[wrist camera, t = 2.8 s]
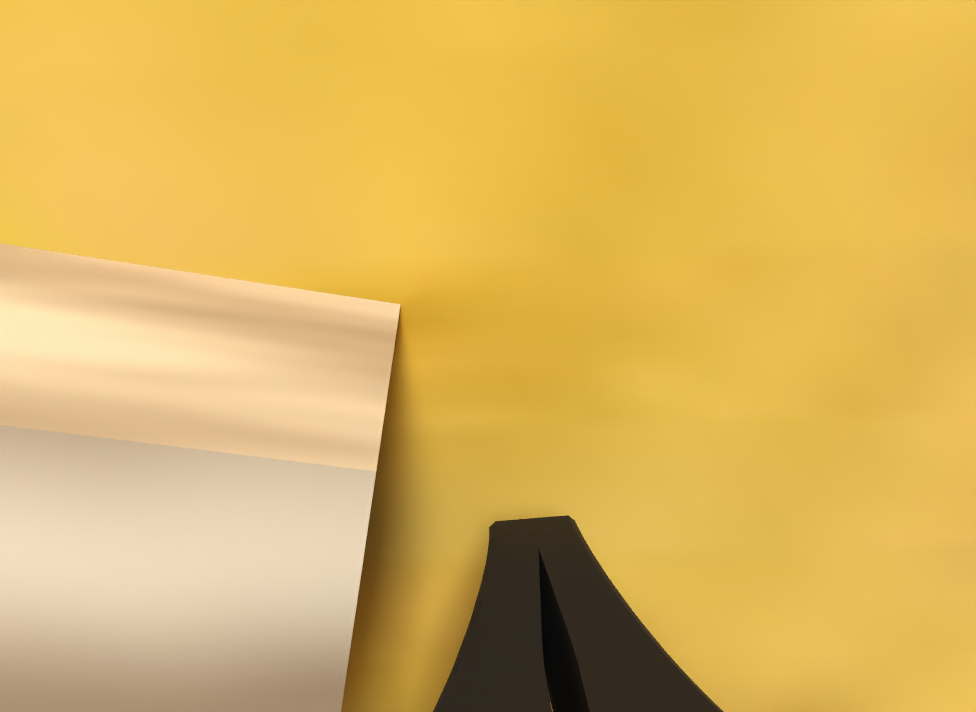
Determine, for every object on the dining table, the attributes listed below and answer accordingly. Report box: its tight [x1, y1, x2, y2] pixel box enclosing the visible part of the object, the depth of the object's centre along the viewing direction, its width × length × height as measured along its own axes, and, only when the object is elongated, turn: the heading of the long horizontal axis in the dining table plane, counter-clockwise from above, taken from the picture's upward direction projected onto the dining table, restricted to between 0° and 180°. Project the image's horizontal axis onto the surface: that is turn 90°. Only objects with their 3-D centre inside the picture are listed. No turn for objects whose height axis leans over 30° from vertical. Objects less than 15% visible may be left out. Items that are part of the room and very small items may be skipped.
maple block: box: [0, 243, 401, 712], centre depth 12 cm, size 10×7×5 cm
